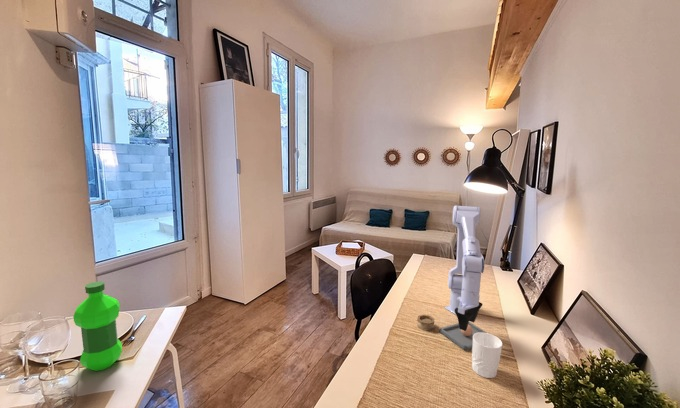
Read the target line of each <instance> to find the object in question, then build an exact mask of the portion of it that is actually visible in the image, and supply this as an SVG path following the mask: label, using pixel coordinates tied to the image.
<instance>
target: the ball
mask: <svg viewBox="0 0 680 408" xmlns="http://www.w3.org/2000/svg"><path fill="white" fill-rule="evenodd" d="M461 332H462V334H463V335H465V336H470V335H472V333H473V329H472V327H471V326H470V325H468V327H467V330H466V331H464V330H461Z"/></svg>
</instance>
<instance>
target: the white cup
mask: <svg viewBox="0 0 680 408" xmlns="http://www.w3.org/2000/svg"><path fill="white" fill-rule="evenodd" d="M502 349H503V342H502V340H501V338H499V337H498V336H496V335H494V334H492V333H489V332H487V333H484V332H478V333H475V334H474V335H473V343H472V349H471V369H472V370H473V372H474V373H476V374H477V375H479V376H480V377H482V378H487V379H494V378H496V377H497V373H498V369H499V365H500V360H501V355H502Z"/></svg>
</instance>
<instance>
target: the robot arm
mask: <svg viewBox="0 0 680 408" xmlns="http://www.w3.org/2000/svg"><path fill="white" fill-rule="evenodd" d="M481 214H482V213H481V207H480V206H469V205H467V206H466V205H465V206H464V205H457V204H456V205H454V206H453V208H452V226H454V227H456V230H457V240H456V241H457V242H456V263H455V264H456V265H455V266H454V267H452V268H450V269H449V271H448V275H447V287H448V289H449V290H450V294H449V296H450V297H449V305H446V306H444V308H445V310H447V311H449V312H451V313H452V314H454V315H456V318H457V320H458V322H457V323H459V328H460V329H461V330H464V331H466V330H467V327H468V323H469V322H470V323H472V324H474V323H475V322H476V320H477V316H478V313H479V311H480V309H481V308H482V307H483V303H482V302H481V301H480V299H481V298H480V290H481V280H482V274H484V272H485V263H486V262H485V259H484V256H483V254H482V253H481V252H482V251H481V245H480V241H479V239H478V238H476V227H477V225H478V224H479V221H480V220H481V217H482V215H481Z"/></svg>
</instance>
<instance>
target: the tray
mask: <svg viewBox="0 0 680 408" xmlns="http://www.w3.org/2000/svg"><path fill="white" fill-rule="evenodd" d="M468 325H470V326H471V327H472V329H473V333H472V335H470V336H465V335H463V334H462V332H461V329H460V328H459V322H457V323H455V324H450V325H447V326H444V327H439V329H438V333H440V334H441V335H443V336H444V337H445V338H447V339H448V340H449V341H451V342H452V343H453V344H455V345H456V346H457V347H459V348H460V349H462V350H463V351H465V352H467V351H470V350H472V343H473V335H474V334H475V333H478V332H484V333H488V332H487V331H485V330H483V329H482V328H481V327H478V326H476V325H475V324H474V323H473V322H471V321H469V323H468Z"/></svg>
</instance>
